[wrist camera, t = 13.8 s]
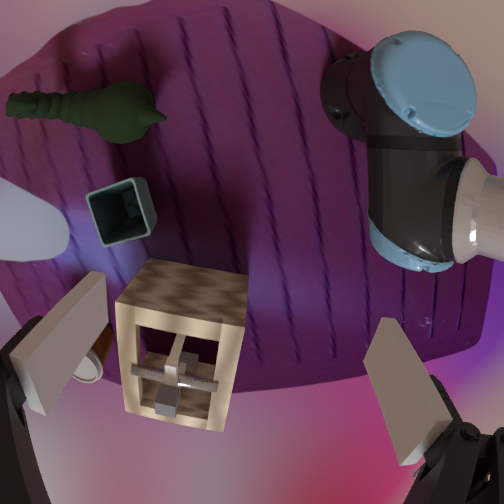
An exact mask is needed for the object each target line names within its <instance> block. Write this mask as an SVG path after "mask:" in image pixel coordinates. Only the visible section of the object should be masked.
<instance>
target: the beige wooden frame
mask: <svg viewBox="0 0 504 504" xmlns="http://www.w3.org/2000/svg"><path fill="white" fill-rule="evenodd" d="M248 280H249V275H244V274H238V273H232V272H226V271H221V270H215V269H209V268H204V267H198V266H193V265H187V264H182V263H176V262H171V261H165V260H160V259H155V258H149V259H148V261H147V262H146V263H145V264H144V265H143V267H142V268H141V269H140V270H139V272H138V273H137V274H136V275H135V277H134V278H133V279H132V281H131V282H130V283H129V284H128V286H127V287H126V288H125V290H124V291H123V292H122V293H121V295H120V296H119V297H118V299H117V300H116V301H115V310H116V327H117V341H118V352H119V363H120V372H121V381H122V389H123V396H124V402H125V409H126V411H127V412H131V413H134V414H138V415H142V416H146V417H150V418H154V419H158V420H162V421H167V422H171V423H176V424H181V425H186V426H191V427H197V428H202V429H207V430H213V431H220V432H223V430H224V426H225V420H226V416H227V411H228V406H229V402H230V397H231V393H232V388H233V383H234V378H235V373H236V369H237V364H238V359H239V354H240V349H241V345H242V340H243V335H244V330H245V321H246V307H247V294H248ZM140 325H141V326H145V327H149V328H154V329H159V330H163V331H168V332H173V333H178V334H183V335H188V336H193V337H198V338H203V339H209V340H214V341H220V342H219V348H218V355H217V361H216V365H212V364H207V363H201V362H198V367H197V371H196V373H195V372H190V371H185V374H181V373H178V386H181V389H180V402H179V406H178V410H177V414H176V418H171V417H167V416H163V415H158V414H155V405H154V402H155V399H156V395H157V392H158V389H159V386H160V383H161V384H165V363H166V360H167V357H169V356H167V355H162V354H158V353H153V352H149V351H148V353H147V355H146V357H145V359H144V362H143V364H142V365H141V351H140Z"/></svg>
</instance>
